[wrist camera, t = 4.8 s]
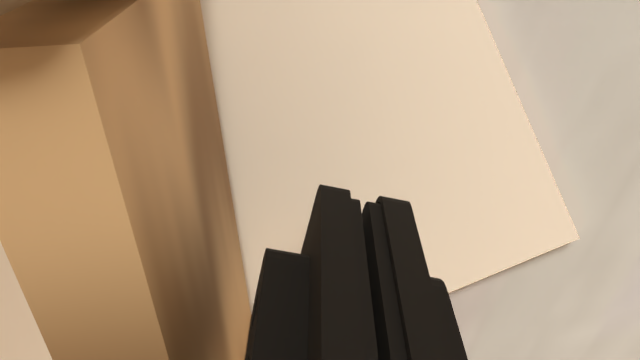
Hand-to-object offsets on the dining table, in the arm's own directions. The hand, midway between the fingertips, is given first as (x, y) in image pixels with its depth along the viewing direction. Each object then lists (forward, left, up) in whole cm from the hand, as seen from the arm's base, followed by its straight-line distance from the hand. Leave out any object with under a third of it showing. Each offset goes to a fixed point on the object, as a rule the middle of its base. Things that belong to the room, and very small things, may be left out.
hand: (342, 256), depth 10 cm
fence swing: (-2, -3, -2) cm, 4 cm away
